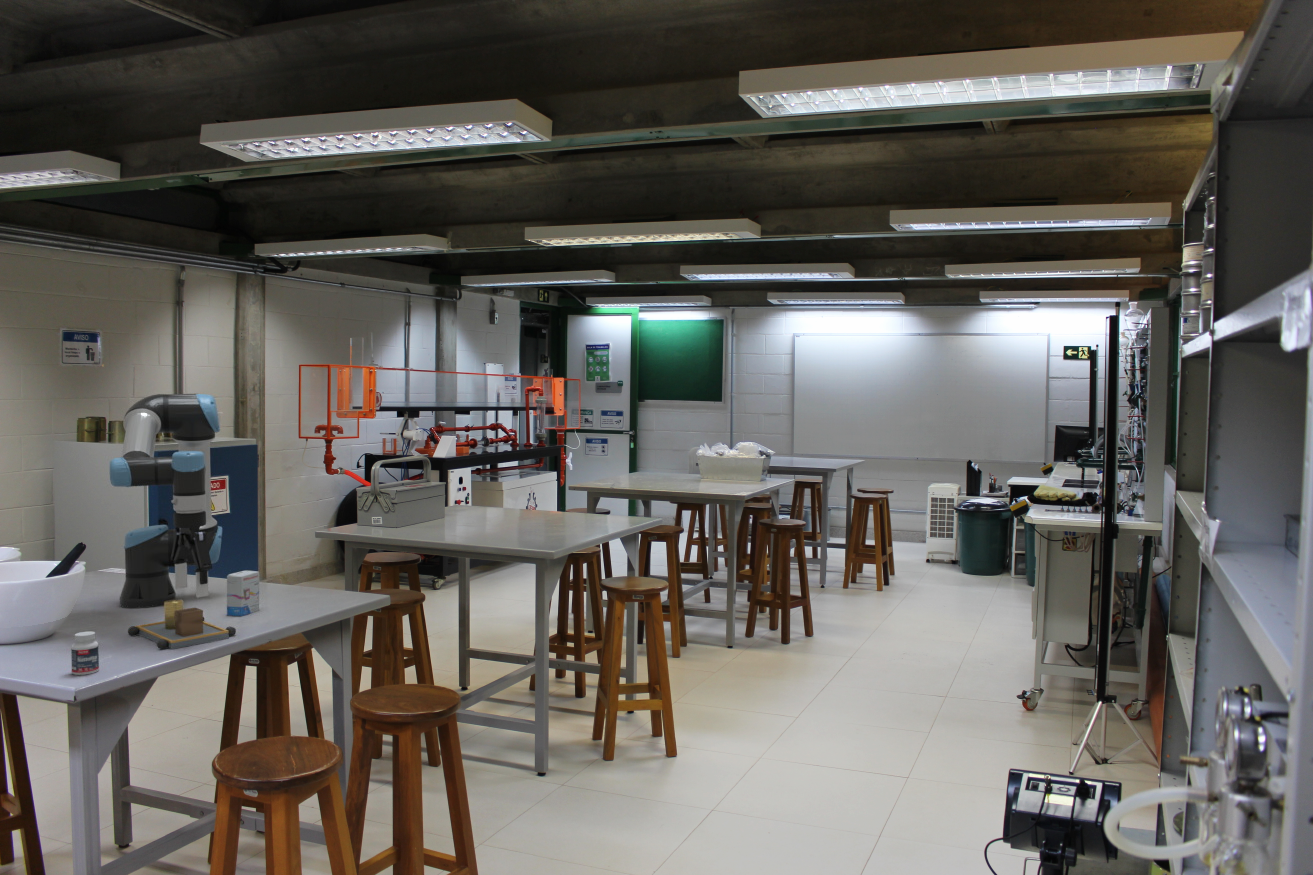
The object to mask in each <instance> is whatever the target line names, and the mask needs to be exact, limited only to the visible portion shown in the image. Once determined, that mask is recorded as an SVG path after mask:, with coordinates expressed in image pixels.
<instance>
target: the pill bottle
mask: <svg viewBox="0 0 1313 875" xmlns="http://www.w3.org/2000/svg"><path fill="white" fill-rule="evenodd" d="M95 640H96V632H95V631H81V632H80V631H79V632H77V633H75V634H74V642H75V643H73V644H72V645H71V649H70V650H71V655H70V656H71V674H72V675H75V676H85V675H90V674H91V675H92V674H94V673H97V672H98V671H99V669H100V657H99V656H100V655H99V654H100V652H99V649H100V648H99V643H98V641H97V640H96V641H95Z"/></svg>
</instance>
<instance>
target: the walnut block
mask: <svg viewBox="0 0 1313 875" xmlns="http://www.w3.org/2000/svg"><path fill="white" fill-rule="evenodd" d="M203 617H204V611H203V609H201V608H199V607H189V608H183V609H182V610H176V611H175V634H177V635H180V636H182V637H185V636H190V635H196V634H201V633H203Z"/></svg>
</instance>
